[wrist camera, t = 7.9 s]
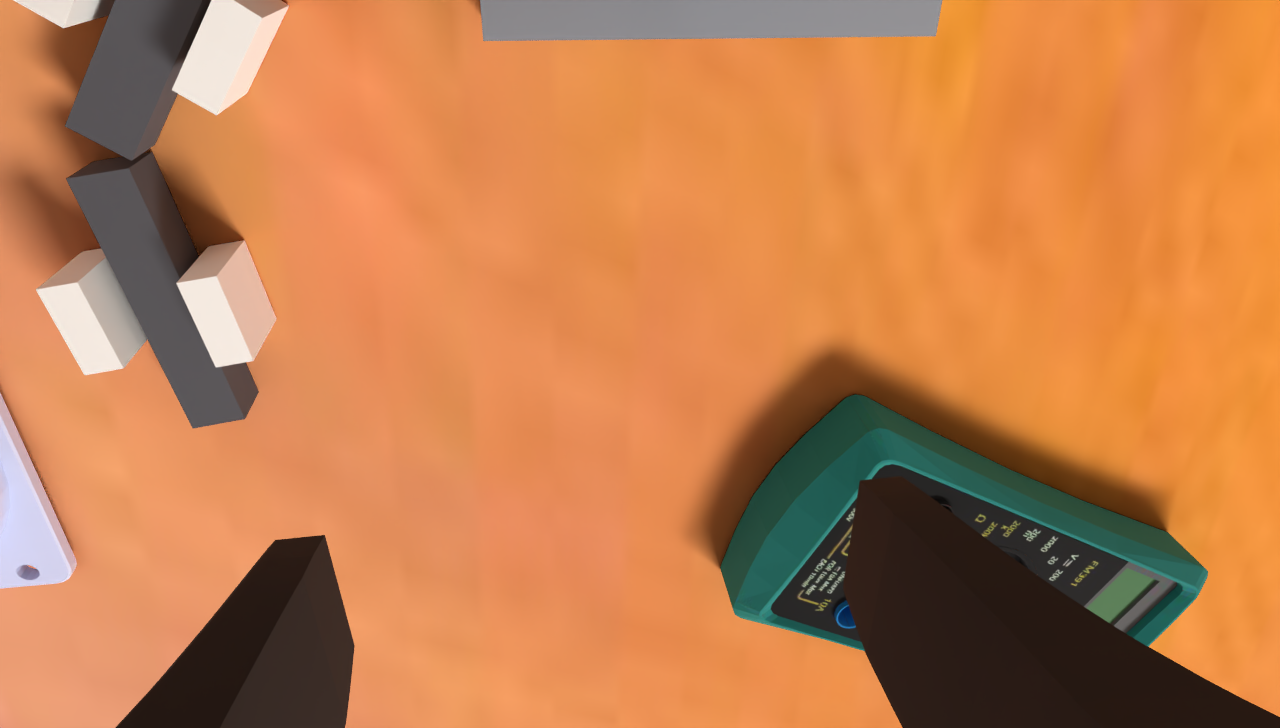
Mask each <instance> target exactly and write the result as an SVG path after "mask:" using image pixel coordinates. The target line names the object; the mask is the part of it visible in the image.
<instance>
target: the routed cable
mask: <svg viewBox="0 0 1280 728" xmlns="http://www.w3.org/2000/svg"><path fill="white" fill-rule="evenodd" d="M14 1H16V2H17V3H19V4H21V5H23V6H24V7H26V8H28V9H30V10H32V11H33V12H35V13H37V14H39V15H40V16H42V17H44V18H46V19H48V20H49V21H51V22H53V23H55V24H56V25H58V26H60V27H62V28H66V27H70V26H73V25H77V24H80V23H84V22H87V21H91V20H94V19H97V18H101V17H104V16H108V15H109V17H108V19H107V22H106V24H105V27H104V29H103V32H102V34H101V37H100V39H99V42H98V44H97V47H96V49H95V52H94V54H93V57H92V59H91V62H90V64H89V67H88V69H87V72H86V74H85V77H84V79H83V82H82V84H81V87H80V89H79V92H78V95H77V97H76V100H75V102H74V105H73V107H72V110H71V112H70V115H69V117H68V120H67V122H66V125H65V127H67V128H69V129H71V130H73V131H75V132H77V133H79V134H81V135H83V136H85V137H87V138H88V139H90V140H92V141H94V142H96V143H98V144H100V145H102V146H104V147H106V148H108V149H110V150H112V151H113V152H115V153H117V154H119V155H121V156H123V157H118V158H112V159H106V160H100V161H94V162H92V163H90V164H89V165H87V166H85V167H84V168H82V169H81V170H79V171H77V172H76V173H74V174H73V175H71V176H70V177H68V178H66V180H67V182H68V184H69V186H70V188H71V190H72V192H73V194H74V195H75V197H76V199H77V201H78V203H79V205H80V207H81V209H82V211H83V213H84V215H85V217H86V219H87V221H88V223H89V225H90V227H91V229H92V231H93V233H94V235H95V237H96V239H97V241H98V243H99V245H100V247H101V248H100V249H94V250H88V251H82V252H81V253H80V254H78V255H77V256H76V257H75V258H74V259H72V260H71V261H70V262H69V263H67V264H66V265H65V266H64V267H63V268H61V269H60V270H59V271H58V272H57V273H55V274H54V275H53V276H52V277H50V278H49V279H48V280H47V281H46V282H44V283H43V284H42V285H41V286H40V287H38V288H37V289H36V291H37V292H38V294H39V296H40V298H41V300H42V301H43V303H44V305H45V307H46V308H47V310H48V312H49V314H50V315H51V317H52V319H53V321H54V322H55V324H56V326H57V328H58V329H59V331H60V333H61V335H62V336H63V338H64V340H65V342H66V343H67V345H68V347H69V349H70V350H71V352H72V354H73V356H74V357H75V359H76V361H77V363H78V365H79V366H80V368H81V370H82V372H83V373H84V375H89V374H95V373H100V372H106V371H111V370H117V369H123V368H124V367H125V366H126V365H127V363H128V362H129V361H130V360H131V359H132V357H133V356H134V355H135V354H136V353H137V351H138V350H139V349H140V348H141V346H142V345H143V344H144V343H145V342H146V340H147V339H148V341H149V343H150V345H151V347H152V349H153V351H154V353H155V355H156V357H157V359H158V361H159V363H160V365H161V367H162V369H163V371H164V373H165V375H166V377H167V378H168V380H169V382H170V384H171V386H172V388H173V390H174V392H175V394H176V396H177V398H178V400H179V402H180V404H181V406H182V408H183V410H184V412H185V414H186V416H187V418H188V420H189V422H190V424H191V426H192V428H198V427H203V426H209V425H214V424H220V423H225V422H231V421H236V420H242V419H245V418H246V416H247V414H248V412H249V410H250V408H251V406H252V404H253V402H254V400H255V398H256V396H257V394H258V389H257V387H256V385H255V383H254V380H253V378H252V376H251V374H250V371H249V369H248V367H247V365H246V362H250V361H254V359H255V357H256V356H257V354H258V352H259V350H260V348H261V346H262V345H263V343H264V341H265V339H266V337H267V336H268V334H269V332H270V330H271V328H272V327H273V325H274V323H275V321H276V316H275V314H274V311H273V309H272V306H271V304H270V302H269V299H268V297H267V294H266V292H265V289H264V287H263V284H262V282H261V279H260V277H259V275H258V272H257V270H256V267H255V265H254V262H253V260H252V257H251V255H250V252H249V250H248V248H247V245H246V243H245V240H243V241H237V242H231V243H225V244H219V245H214V246H208V247H207V248H206V249H205V251H204V252H203V253H202V254H201V255H200V256H198V254H197V252H196V250H195V247H194V245H193V243H192V241H191V238H190V236H189V234H188V232H187V229H186V227H185V225H184V223H183V220H182V218H181V216H180V214H179V211H178V209H177V207H176V205H175V202H174V200H173V198H172V196H171V193H170V191H169V189H168V187H167V184H166V182H165V180H164V178H163V175H162V173H161V171H160V169H159V166H158V164H157V162H156V160H155V157H154V155H153V153H152V152H148V153H144V152H145V151H147V150H148V149H150V148H151V147H152V146H154V145H155V143H156V141H157V139H158V137H159V135H160V132H161V130H162V128H163V126H164V123H165V121H166V119H167V117H168V114H169V112H170V110H171V108H172V105H173V103H174V101H175V99H176V96H177V94H180V95H181V96H183V97H185V98H187V99H188V100H190V101H192V102H194V103H196V104H197V105H199V106H201V107H203V108H205V109H206V110H208V111H210V112H212V113H213V114H215V115H218V114H219V113H221V112H222V111H223V110H225V109H226V108H227V107H229V106H230V105H232V104H233V103H234V102H236V101H237V100H238V99H240V98H241V97H242V96H244V95H245V94H246V93H247V92H248V90H249V88H250V86H251V84H252V82H253V80H254V78H255V76H256V74H257V72H258V69H259V67H260V65H261V63H262V61H263V59H264V57H265V55H266V53H267V51H268V49H269V47H270V44H271V42H272V40H273V38H274V36H275V34H276V32H277V30H278V28H279V26H280V24H281V22H282V20H283V17H284V15H285V13H286V11H287V9H288V7H289V5H288V4H286V3H285V2H283V1H282V0H14Z"/></svg>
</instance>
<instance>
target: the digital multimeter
mask: <svg viewBox="0 0 1280 728" xmlns="http://www.w3.org/2000/svg"><path fill="white" fill-rule="evenodd" d="M901 466H902V467H901ZM903 467H904V468H903ZM906 468H907V469H906ZM908 469H909V470H908ZM898 476H902V477H903V478H905V479H906V480H908V481H909V482H911V483H912V484H913V485H915V486H916V487H918V488H919V489H920V490H922V491H923V492H925V493H926V494H927V495H929V496H930V497H931V498H933V499H934V500H935V501H937V502H938V503H939V504H941V505H942V506H943V507H945V508H946V509H947V510H949V511H950V512H951V513H953V514H954V515H955V516H957V517H958V518H959V519H961V520H962V521H963V522H965V523H966V524H967V525H969V526H970V527H971V528H973V529H974V530H975V531H977V532H978V533H979V534H981V535H982V536H983V537H985V538H986V539H988V540H989V541H990V542H992V543H993V544H994V545H996V546H997V547H998V548H1000V549H1001V550H1002V551H1004V552H1005V553H1007V554H1008V555H1009V556H1011V557H1012V558H1014V559H1015V560H1016V561H1018V562H1019V563H1021V564H1022V565H1023V566H1025V567H1026V568H1028V569H1029V570H1030V571H1032V572H1033V573H1035V574H1036V575H1038V576H1039V577H1040V578H1042V579H1043V580H1045V581H1046V582H1048V583H1049V584H1051V585H1052V586H1054V587H1055V588H1056V589H1058V590H1059V591H1061V592H1062V593H1064V594H1065V595H1067V596H1068V597H1070V598H1071V599H1073V600H1074V601H1076V602H1077V603H1079V604H1081V605H1082V606H1084V607H1085V608H1087V609H1088V610H1090V611H1091V612H1093V613H1094V614H1096V615H1098V616H1099V617H1101V618H1102V619H1104V620H1105V621H1107V622H1108V623H1110V624H1111V625H1113V626H1115V627H1116V628H1118V629H1119V630H1121V631H1123V632H1124V633H1126V634H1128V635H1129V636H1131V637H1133V638H1134V639H1136V640H1138V641H1139V642H1141V643H1142V644H1144V645H1146V646H1149V645H1150V644H1151V643H1153V642H1154V641H1155V640H1156V639H1157V638H1158V637H1159V636H1160V635H1161V634H1162V633H1163V632H1164V631H1165V630H1166V629H1167V628H1168V627H1169V626H1170V625H1171V624H1172V623H1173V622H1174V621H1175V620H1176V619H1177V618H1178V617H1179V616H1180V615H1181V614H1182V613H1183V612H1184V611H1185V609H1186V608H1187V607H1188V606H1189V605H1190V604H1191V603H1192V602H1193V601H1194V600H1195V599H1196V598H1197V596H1198V595H1199V593H1200V591H1201V589H1202V587H1203V585H1204V583H1205V581H1206V579H1207V576H1208V571H1207V570H1206V569H1205V568H1204V567H1203V566H1202V565H1201V564H1200V563H1199V562H1198V561H1197V560H1196V559H1195V558H1194V557H1193V556H1192V555H1191V554H1190V553H1189V552H1188V551H1187V550H1185V549H1184V548H1183V547H1182V546H1181V545H1180V544H1179V543H1178V542H1177V541H1176V540H1175V539H1174V538H1173V537H1172V536H1171V535H1170V534H1169V533H1168V532H1165V531H1163V530H1160V529H1157V528H1155V527H1152V526H1149V525H1147V524H1144V523H1141V522H1138V521H1136V520H1133V519H1130V518H1128V517H1125V516H1122V515H1120V514H1117V513H1114V512H1112V511H1109V510H1106V509H1104V508H1101V507H1098V506H1096V505H1093V504H1090V503H1088V502H1085V501H1083V500H1080V499H1078V498H1076V497H1073V496H1071V495H1068V494H1066V493H1064V492H1061V491H1059V490H1057V489H1054V488H1052V487H1050V486H1047V485H1045V484H1043V483H1040V482H1038V481H1036V480H1033V479H1031V478H1028V477H1026V476H1024V475H1021V474H1019V473H1017V472H1014V471H1012V470H1010V469H1008V468H1006V467H1004V466H1002V465H1000V464H998V463H996V462H994V461H991V460H989V459H987V458H985V457H983V456H981V455H979V454H977V453H975V452H973V451H971V450H969V449H967V448H965V447H963V446H961V445H959V444H957V443H955V442H953V441H951V440H949V439H946V438H944V437H942V436H940V435H938V434H936V433H934V432H932V431H930V430H928V429H926V428H925V427H923V426H921V425H919V424H917V423H915V422H913V421H911V420H909V419H907V418H906V417H904V416H902V415H900V414H898V413H896V412H894V411H892V410H890V409H888V408H886V407H885V406H883V405H881V404H879V403H877V402H875V401H873V400H871V399H869V398H867V397H866V396H862V395H856V394H855V395H852V396H849V397H846V398H845V399H844V400H843V401H841V402H840V403H839V404H838V405H837V406H836V407H835V408H834V409H833V410H831V411H830V412H829V413H828V414H827V415H826V416H825V417H824V418H823V419H821V420H820V421H819V422H818V423H817V424H816V425H815V426H814V427H813V428H811V429H810V430H809V431H808V432H807V433H806V434H805V435H804V436H803V437H802V438H801V439H800V440H799V441H798V442H797V443H796V444H795V445H794V446H793V447H792V448H791V449H790V450H789V451H788V452H787V453H786V455H785V456H784V457H783V458H782V459H781V460H780V461H779V462H778V463H777V464H776V465H775V466H774V468H773V469H772V470H771V472H770V473H769V475H768V476H767V477H766V479H765V480H764V481H763V483H762V484H761V486H760V487H759V488H758V490H757V491H756V492H755V494H754V495H753V497H752V498H751V500H750V502H749V504H748V506H747V508H746V510H745V512H744V514H743V516H742V518H741V520H740V522H739V524H738V526H737V528H736V529H735V532H734V534H733V537H732V539H731V542H730V544H729V547H728V549H727V552H726V554H725V557H724V559H723V562H722V564H721V567H720V569H721V572H722V575H723V578H724V581H725V585H726V588H727V591H728V594H729V597H730V601H731V604H732V607H733V610H734V613H735V615H737V616H738V617H740V618H743V619H747V620H751V621H755V622H758V623H762V624H766V625H770V626H774V627H778V628H782V629H786V630H790V631H794V632H798V633H802V634H805V635H809V636H813V637H817V638H821V639H825V640H829V641H832V642H835V643H839V644H842V645H846V646H849V647H852V648H856V649H859V650H863V651H865V650H864V647H863V644H862V642H861V639H860V636H859V634H858V631H857V628H856V625H855V623H854V620H853V617H852V614H851V611H850V608H849V605H848V602H847V599H846V596H845V593H844V590H843V582H844V576H845V570H846V563H847V557H848V551H849V545H850V538H851V532H852V526H853V520H854V513H855V507H856V501H857V495H858V488H859V482H860V480H868V479H878V478H888V477H898ZM930 478H931V479H930ZM932 479H933V480H932ZM934 480H936V481H934ZM937 481H938V482H937ZM939 482H940V483H939ZM941 483H943V484H941ZM944 484H945V485H944ZM946 485H948V486H946ZM949 486H950V487H949ZM951 487H952V488H951ZM953 488H955V489H953ZM956 489H957V490H956ZM958 490H960V491H958ZM961 491H962V492H961ZM963 492H964V493H963ZM965 493H967V494H965ZM968 494H969V495H968ZM970 495H972V496H974V497H972V496H970ZM975 497H976V498H975ZM977 498H979V499H977ZM980 499H981V500H980ZM982 500H983V501H982ZM984 501H986V502H984ZM987 502H988V503H987ZM989 503H991V504H993V505H991V504H989ZM994 505H995V506H994ZM996 506H998V507H996ZM999 507H1000V508H999ZM1001 508H1002V509H1001ZM1003 509H1005V510H1003ZM1006 510H1007V511H1006ZM1008 511H1010V512H1008ZM1011 512H1012V513H1011ZM1013 513H1014V514H1013ZM1015 514H1017V515H1015ZM1018 515H1019V516H1018ZM1020 516H1022V517H1024V518H1022V517H1020ZM1025 518H1026V519H1025ZM1027 519H1029V520H1027ZM1030 520H1031V521H1030ZM1032 521H1033V522H1032ZM1034 522H1036V523H1034ZM1037 523H1038V524H1037ZM1039 524H1041V525H1039ZM1042 525H1043V526H1042ZM1044 526H1045V527H1044ZM1046 527H1048V528H1046ZM1049 528H1050V529H1049ZM1051 529H1052V530H1051ZM1053 530H1055V531H1053ZM1056 531H1057V532H1056ZM1058 532H1060V533H1058ZM1061 533H1062V534H1061ZM1063 534H1064V535H1063ZM1065 535H1067V536H1065ZM1068 536H1069V537H1068ZM1070 537H1072V538H1074V539H1072V538H1070ZM1075 539H1076V540H1075ZM1077 540H1079V541H1077ZM1080 541H1081V542H1080ZM1082 542H1083V543H1082ZM1084 543H1086V544H1084ZM1087 544H1088V545H1087ZM1089 545H1091V546H1089ZM1092 546H1093V547H1092ZM1094 547H1095V548H1094ZM1096 548H1098V549H1096ZM1015 549H1016V550H1015ZM1099 549H1100V550H1099ZM1018 550H1019V551H1018ZM1101 550H1102V551H1101ZM1103 551H1105V552H1103ZM1106 552H1107V553H1106ZM1108 553H1110V554H1108ZM1025 554H1026V555H1025ZM1111 554H1112V555H1111ZM1113 555H1114V556H1113ZM1115 556H1117V557H1115ZM1035 567H1036V568H1035Z"/></svg>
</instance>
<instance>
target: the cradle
mask: <svg viewBox="0 0 1280 728" xmlns="http://www.w3.org/2000/svg"><path fill="white" fill-rule="evenodd" d="M941 4H942V0H480V5H481V17H482V30H483V41H524V40H619V39H714V38H809V37H904V36H936V32H937V26H938V21H939V15H940V10H941Z"/></svg>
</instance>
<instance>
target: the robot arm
mask: <svg viewBox="0 0 1280 728" xmlns="http://www.w3.org/2000/svg"><path fill="white" fill-rule="evenodd" d="M27 565H31V566H33V567H35V568H37V569H33V568H31V567H28V566H27ZM76 566H77V562H76V558H75V556H74V554H73V552H72V550H71V547H70V545H69V543H68V541H67V539H66V536H65V534H64V532H63V530H62V527H61V525H60V523H59V521H58V519H57V516H56V514H55V512H54V510H53V508H52V505H51V503H50V501H49V499H48V497H47V494H46V492H45V490H44V488H43V486H42V483H41V481H40V479H39V477H38V475H37V472H36V470H35V468H34V466H33V464H32V461H31V459H30V457H29V455H28V453H27V450H26V448H25V446H24V444H23V442H22V439H21V437H20V435H19V433H18V431H17V428H16V426H15V424H14V422H13V419H12V417H11V415H10V413H9V411H8V408H7V406H6V404H5V402H4V400H3V397H2V395H1V393H0V588H11V587H22V586H34V585H45V584H57V583H61V582H64V581H66V580H67V579H69V578H70V576H71V575H72V573H73V572H74V570H75V568H76ZM843 590H844V593H845V596H846V599H847V602H848V605H849V608H850V611H851V614H852V617H853V620H854V623H855V625H856V628H857V631H858V634H859V636H860V639H861V642H862V644H863V647H864V650H865V652H866V655H867V657H868V659H869V661H870V663H871V665H872V667H873V669H874V671H875V673H876V675H877V677H878V679H879V681H880V683H881V685H882V687H883V689H884V692H885V694H886V696H887V698H888V700H889V702H890V704H891V706H892V708H893V710H894V711H895V713H896V715H897V717H898V719H899V721H900V723H901V725H902V727H903V728H1280V717H1278V716H1276V715H1274V714H1272V713H1270V712H1268V711H1266V710H1264V709H1262V708H1260V707H1258V706H1256V705H1254V704H1252V703H1250V702H1248V701H1246V700H1244V699H1242V698H1240V697H1238V696H1236V695H1234V694H1232V693H1230V692H1229V691H1227V690H1225V689H1223V688H1221V687H1219V686H1217V685H1215V684H1213V683H1211V682H1210V681H1208V680H1206V679H1204V678H1202V677H1200V676H1199V675H1197V674H1195V673H1193V672H1192V671H1190V670H1188V669H1186V668H1185V667H1183V666H1181V665H1179V664H1178V663H1176V662H1174V661H1172V660H1171V659H1169V658H1167V657H1165V656H1163V655H1162V654H1160V653H1158V652H1156V651H1155V650H1153V649H1151V648H1149V647H1148V646H1146V645H1144V644H1142V643H1141V642H1139V641H1138V640H1136V639H1134V638H1133V637H1131V636H1129V635H1128V634H1126V633H1124V632H1123V631H1121V630H1119V629H1118V628H1116V627H1115V626H1113V625H1111V624H1110V623H1108V622H1107V621H1105V620H1104V619H1102V618H1101V617H1099V616H1098V615H1096V614H1094V613H1093V612H1091V611H1090V610H1088V609H1087V608H1085V607H1084V606H1082V605H1081V604H1079V603H1077V602H1076V601H1074V600H1073V599H1071V598H1070V597H1068V596H1067V595H1065V594H1064V593H1062V592H1061V591H1059V590H1058V589H1056V588H1055V587H1054V586H1052V585H1051V584H1049V583H1048V582H1046V581H1045V580H1043V579H1042V578H1040V577H1039V576H1038V575H1036V574H1035V573H1033V572H1032V571H1030V570H1029V569H1028V568H1026V567H1025V566H1023V565H1022V564H1021V563H1019V562H1018V561H1016V560H1015V559H1014V558H1012V557H1011V556H1009V555H1008V554H1007V553H1005V552H1004V551H1002V550H1001V549H1000V548H998V547H997V546H996V545H994V544H993V543H992V542H990V541H989V540H988V539H986V538H985V537H983V536H982V535H981V534H979V533H978V532H977V531H975V530H974V529H973V528H971V527H970V526H969V525H967V524H966V523H965V522H963V521H962V520H961V519H959V518H958V517H957V516H955V515H954V514H953V513H951V512H950V511H949V510H947V509H946V508H945V507H943V506H942V505H941V504H939V503H938V502H937V501H935V500H934V499H933V498H931V497H930V496H929V495H927V494H926V493H925V492H923V491H922V490H920V489H919V488H918V487H916V486H915V485H913V484H912V483H911V482H909V481H908V480H906V479H905V478H903V477H902V476H898V477H888V478H878V479H868V480H860V482H859V488H858V495H857V501H856V507H855V513H854V520H853V526H852V532H851V538H850V545H849V551H848V557H847V563H846V570H845V576H844V582H843ZM353 655H354V642H353V639H352V635H351V631H350V627H349V624H348V620H347V616H346V613H345V609H344V605H343V601H342V598H341V594H340V590H339V587H338V583H337V579H336V575H335V572H334V568H333V564H332V560H331V557H330V553H329V549H328V546H327V542H326V538H325V535H321V536H311V537H301V538H292V539H282V540H275V541H274V542H273V543H272V545H271V546H270V547H269V548H268V549H267V550H266V551H265V553H264V554H263V555H262V556H261V557H260V559H259V560H258V561H257V562H256V564H255V565H254V566H253V567H252V569H251V570H250V571H249V572H248V574H247V575H246V576H245V577H244V579H243V580H242V581H241V582H240V584H239V585H238V586H237V587H236V588H235V590H234V591H233V592H232V593H231V595H230V596H229V597H228V598H227V600H226V601H225V602H224V603H223V605H222V606H221V607H220V608H219V609H218V611H217V612H216V613H215V614H214V616H213V617H212V618H211V619H210V621H209V622H208V623H207V624H206V625H205V627H204V628H203V629H202V630H201V631H200V633H199V634H198V635H197V636H196V637H195V638H194V640H193V641H192V642H191V643H190V644H189V646H188V647H187V648H186V649H185V650H184V651H183V653H182V654H181V655H180V656H179V657H178V658H177V660H176V661H175V662H174V663H173V664H172V666H171V667H170V668H169V669H168V670H167V671H166V673H165V674H164V675H163V676H162V677H161V678H160V680H159V681H158V682H157V683H156V684H155V685H154V686H153V687H152V689H151V690H150V691H149V692H148V693H147V694H146V695H145V696H144V697H143V698H142V700H141V701H140V702H139V703H138V704H137V705H136V706H135V707H134V708H133V709H132V710H131V711H130V713H129V714H128V715H127V716H126V717H125V718H124V719H123V720H122V721H121V722H120V723H119V724H118V726H117V727H116V728H345V724H346V718H347V709H348V701H349V693H350V684H351V674H352V665H353Z"/></svg>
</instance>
